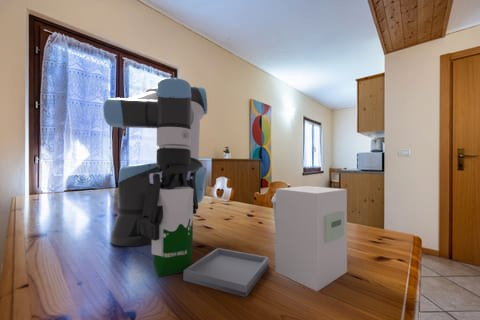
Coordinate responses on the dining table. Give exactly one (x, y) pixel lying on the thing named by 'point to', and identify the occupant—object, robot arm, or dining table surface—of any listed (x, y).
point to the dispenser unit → (311, 234)
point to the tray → (227, 271)
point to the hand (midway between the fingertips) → (173, 246)
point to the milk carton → (175, 230)
